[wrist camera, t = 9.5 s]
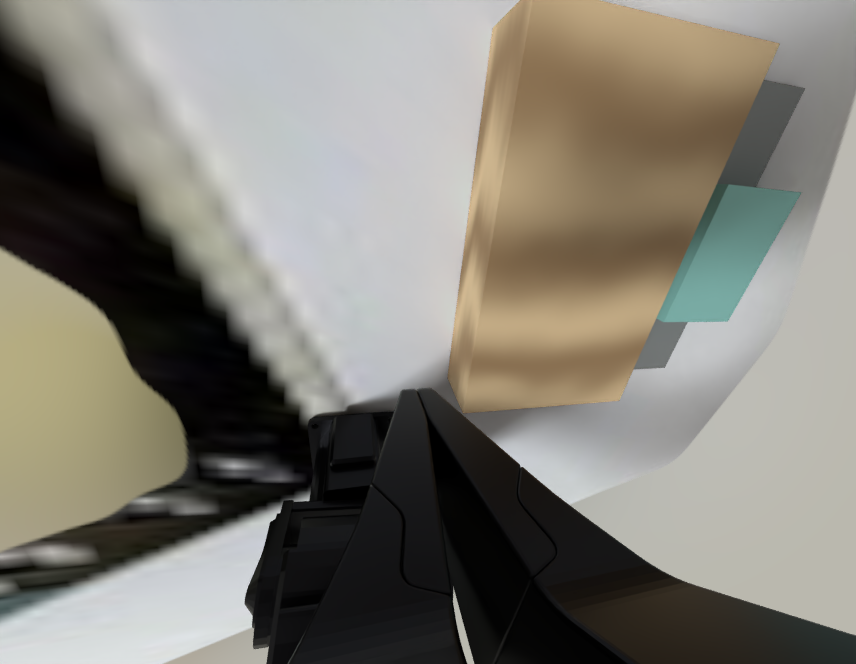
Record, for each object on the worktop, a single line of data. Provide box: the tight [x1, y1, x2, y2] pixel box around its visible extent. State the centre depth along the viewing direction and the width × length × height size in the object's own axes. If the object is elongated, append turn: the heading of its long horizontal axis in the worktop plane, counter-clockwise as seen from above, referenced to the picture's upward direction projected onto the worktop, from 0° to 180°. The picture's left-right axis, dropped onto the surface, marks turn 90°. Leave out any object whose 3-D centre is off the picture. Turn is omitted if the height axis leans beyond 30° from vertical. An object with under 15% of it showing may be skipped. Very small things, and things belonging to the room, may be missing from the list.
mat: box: [634, 80, 805, 369], centre depth 22 cm, size 20×8×1 cm, turn 175°
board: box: [447, 0, 780, 413], centre depth 19 cm, size 20×12×4 cm, turn 175°
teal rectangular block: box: [656, 184, 801, 322], centre depth 22 cm, size 9×6×2 cm, turn 175°
